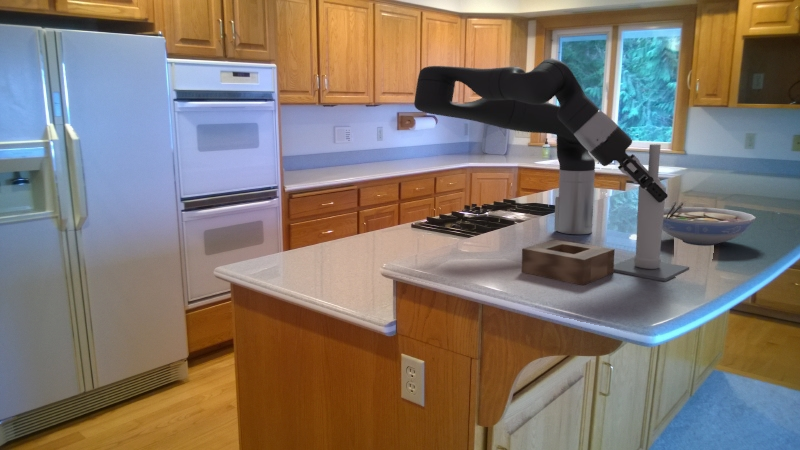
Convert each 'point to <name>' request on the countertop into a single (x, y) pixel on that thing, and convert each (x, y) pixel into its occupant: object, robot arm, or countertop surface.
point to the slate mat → (650, 270)
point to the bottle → (650, 218)
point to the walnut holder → (568, 261)
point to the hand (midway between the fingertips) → (661, 197)
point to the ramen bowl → (704, 224)
